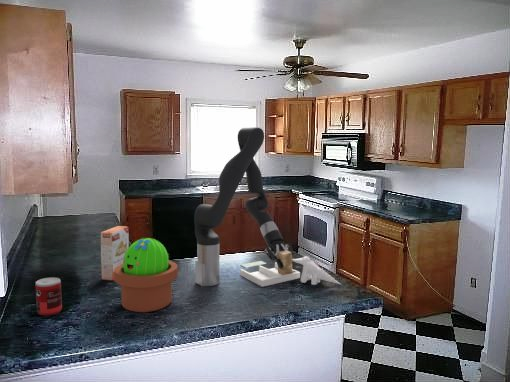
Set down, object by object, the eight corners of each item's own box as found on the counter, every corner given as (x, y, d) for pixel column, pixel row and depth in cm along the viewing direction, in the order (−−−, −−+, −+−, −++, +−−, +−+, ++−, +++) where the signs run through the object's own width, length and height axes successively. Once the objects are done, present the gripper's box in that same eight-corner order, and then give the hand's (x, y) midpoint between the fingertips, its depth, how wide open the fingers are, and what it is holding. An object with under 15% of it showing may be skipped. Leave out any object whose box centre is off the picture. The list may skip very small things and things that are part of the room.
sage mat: (254, 272, 188) (254, 271, 188) (240, 265, 198) (240, 264, 198) (275, 268, 195) (275, 267, 195) (261, 261, 204) (261, 260, 204)
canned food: (42, 307, 147) (40, 277, 146) (65, 306, 148) (64, 277, 147) (32, 316, 140) (31, 285, 138) (57, 315, 140) (55, 284, 139)
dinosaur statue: (292, 274, 183) (295, 250, 181) (343, 291, 170) (347, 266, 168) (284, 278, 177) (287, 254, 175) (336, 297, 164) (340, 270, 162)
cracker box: (114, 281, 174) (112, 232, 172) (101, 280, 176) (99, 232, 173) (130, 270, 188) (129, 225, 185) (118, 269, 189) (116, 225, 187)
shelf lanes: (262, 289, 167) (262, 280, 167) (239, 277, 181) (240, 269, 181) (299, 280, 178) (300, 272, 178) (276, 269, 192) (276, 262, 192)
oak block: (283, 279, 176) (283, 254, 174) (278, 276, 180) (277, 251, 178) (292, 277, 178) (291, 252, 177) (286, 273, 182) (286, 250, 180)
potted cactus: (147, 288, 167) (145, 227, 164) (189, 299, 156) (188, 234, 153) (102, 306, 148) (99, 238, 145) (147, 321, 137) (145, 247, 134)
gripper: (261, 231, 179) (277, 265, 171) (287, 227, 187) (304, 259, 178) (254, 240, 184) (270, 274, 176) (280, 236, 192) (296, 268, 183)
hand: (287, 266), depth 177 cm, fingers closed on oak block, 4 cm apart
